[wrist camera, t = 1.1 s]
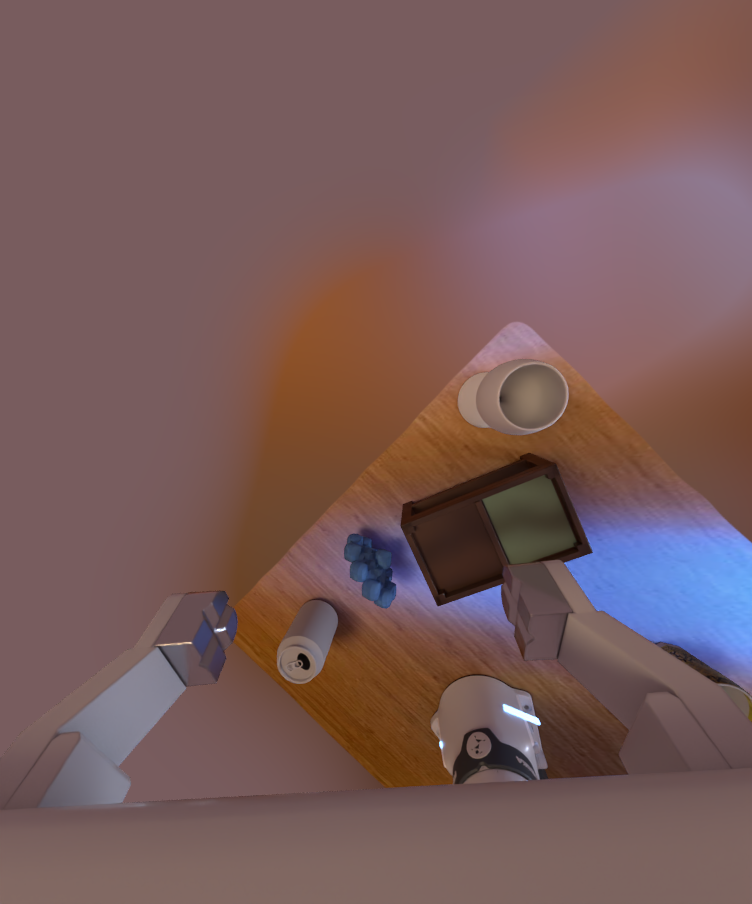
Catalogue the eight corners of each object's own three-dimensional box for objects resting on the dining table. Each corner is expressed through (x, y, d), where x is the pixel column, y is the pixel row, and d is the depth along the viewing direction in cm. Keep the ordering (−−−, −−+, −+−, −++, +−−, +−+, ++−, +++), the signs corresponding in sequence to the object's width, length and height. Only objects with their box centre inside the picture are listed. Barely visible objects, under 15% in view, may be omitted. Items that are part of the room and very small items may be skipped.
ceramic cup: (619, 648, 55) (663, 701, 45) (678, 622, 53) (737, 671, 43) (657, 710, 56) (709, 775, 46) (717, 686, 54) (784, 749, 44)
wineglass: (449, 417, 53) (471, 424, 32) (469, 364, 51) (506, 337, 31) (501, 435, 52) (557, 454, 32) (523, 382, 51) (597, 367, 30)
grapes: (415, 563, 57) (415, 604, 45) (385, 584, 58) (378, 630, 46) (372, 512, 57) (361, 540, 45) (343, 535, 58) (325, 568, 46)
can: (345, 628, 60) (328, 682, 49) (308, 638, 62) (283, 693, 50) (330, 592, 60) (309, 638, 48) (293, 603, 61) (264, 650, 49)
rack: (559, 525, 53) (594, 553, 43) (433, 571, 57) (437, 607, 47) (529, 452, 52) (557, 464, 42) (403, 504, 56) (400, 526, 46)
